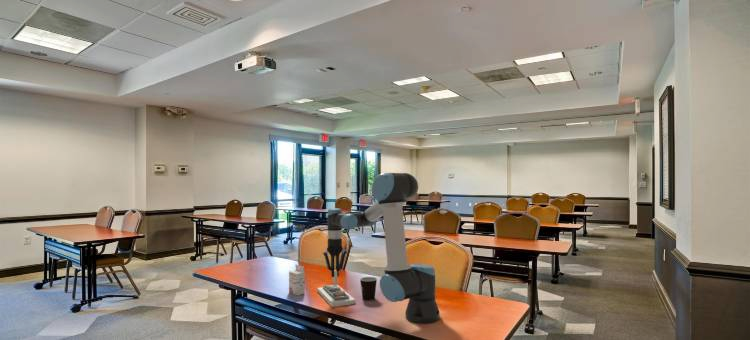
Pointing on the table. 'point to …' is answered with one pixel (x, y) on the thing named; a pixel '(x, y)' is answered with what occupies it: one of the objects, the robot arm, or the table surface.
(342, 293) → the clay button
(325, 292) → the button panel
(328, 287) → the sage button
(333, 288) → the slate button
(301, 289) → the ink cartridge box
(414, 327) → the table surface
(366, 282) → the coffee mug
